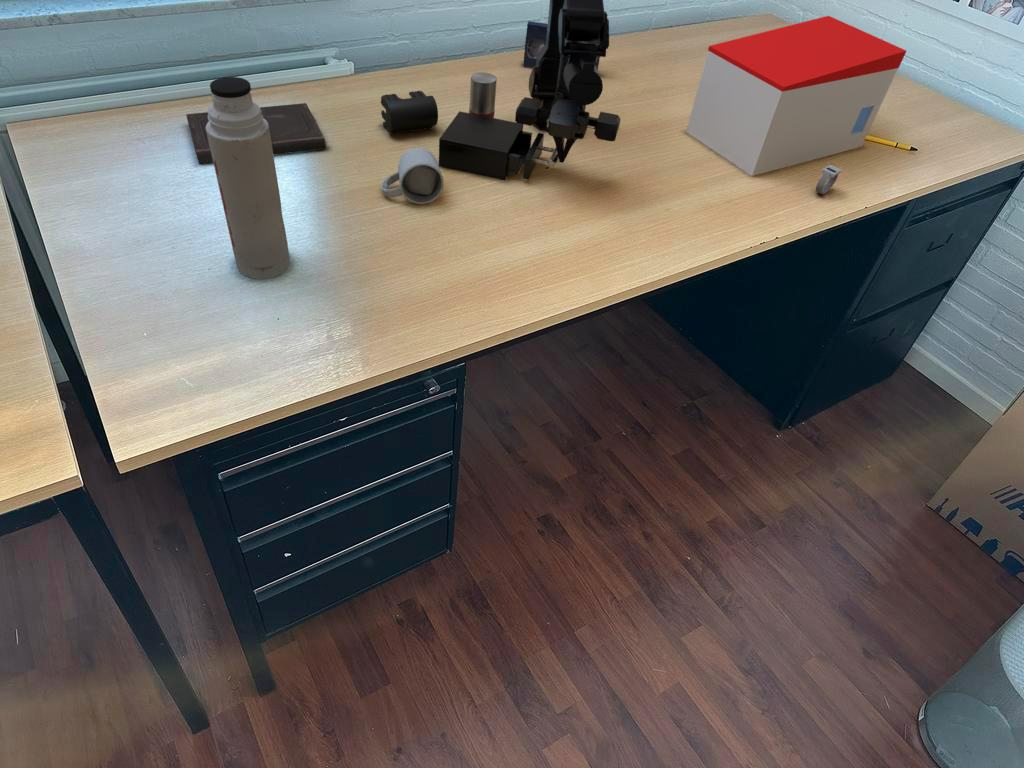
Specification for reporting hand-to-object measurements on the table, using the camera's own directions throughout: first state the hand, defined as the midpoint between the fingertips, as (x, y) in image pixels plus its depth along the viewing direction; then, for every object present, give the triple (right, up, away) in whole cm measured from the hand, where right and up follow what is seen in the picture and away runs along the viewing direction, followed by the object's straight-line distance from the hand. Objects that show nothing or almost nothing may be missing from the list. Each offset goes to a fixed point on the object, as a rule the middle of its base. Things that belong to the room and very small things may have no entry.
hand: (561, 161), depth 137 cm
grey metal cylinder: (-16, +12, +14) cm, 24 cm away
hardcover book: (-59, +5, +2) cm, 59 cm away
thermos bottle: (-48, -24, -26) cm, 60 cm away
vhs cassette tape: (+2, +35, +39) cm, 52 cm away
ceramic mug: (-28, -8, -8) cm, 30 cm away
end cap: (-31, +9, +10) cm, 34 cm away
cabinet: (-16, +2, +4) cm, 16 cm away
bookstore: (+49, +12, +22) cm, 55 cm away
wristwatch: (+53, -4, +7) cm, 53 cm away
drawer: (-9, +1, +2) cm, 9 cm away
